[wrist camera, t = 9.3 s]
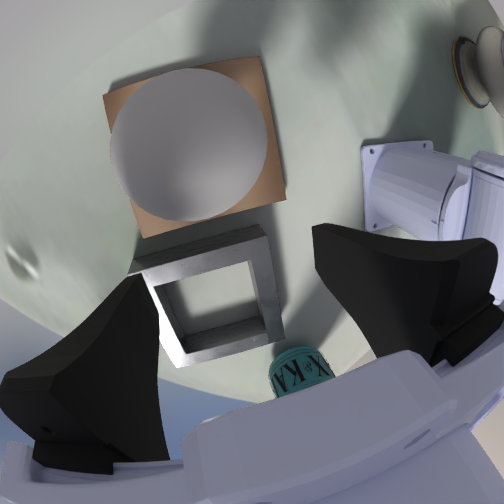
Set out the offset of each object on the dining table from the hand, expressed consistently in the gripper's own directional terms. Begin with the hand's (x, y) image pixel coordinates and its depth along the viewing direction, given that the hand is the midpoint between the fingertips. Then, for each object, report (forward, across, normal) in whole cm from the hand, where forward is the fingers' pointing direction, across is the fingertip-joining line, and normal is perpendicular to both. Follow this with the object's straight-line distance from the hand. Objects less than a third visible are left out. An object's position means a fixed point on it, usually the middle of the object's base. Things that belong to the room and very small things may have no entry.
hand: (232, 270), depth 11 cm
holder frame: (+10, +2, +8) cm, 13 cm away
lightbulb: (+10, +1, -5) cm, 11 cm away
